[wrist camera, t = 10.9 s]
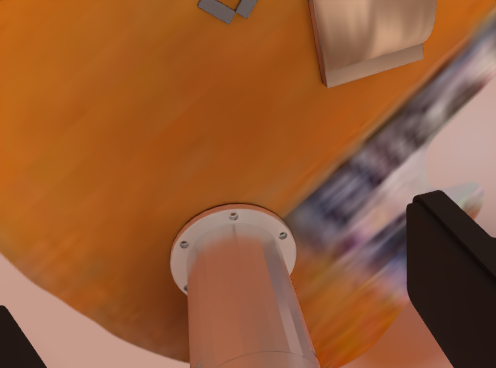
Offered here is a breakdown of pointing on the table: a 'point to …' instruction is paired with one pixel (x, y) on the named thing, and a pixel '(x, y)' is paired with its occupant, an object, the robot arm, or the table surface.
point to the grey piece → (227, 9)
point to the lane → (368, 35)
